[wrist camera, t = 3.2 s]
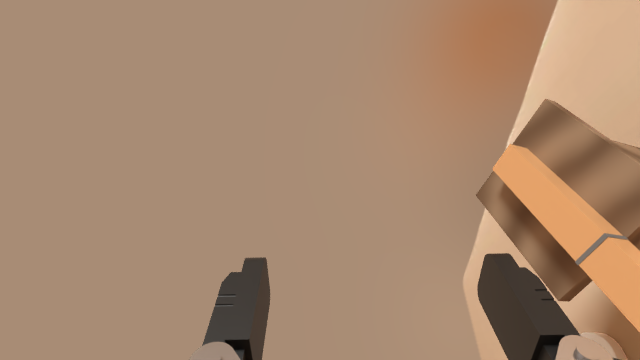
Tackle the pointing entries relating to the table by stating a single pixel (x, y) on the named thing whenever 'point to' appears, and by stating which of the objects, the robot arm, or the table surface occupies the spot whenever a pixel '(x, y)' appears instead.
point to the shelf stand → (582, 177)
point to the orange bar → (576, 228)
